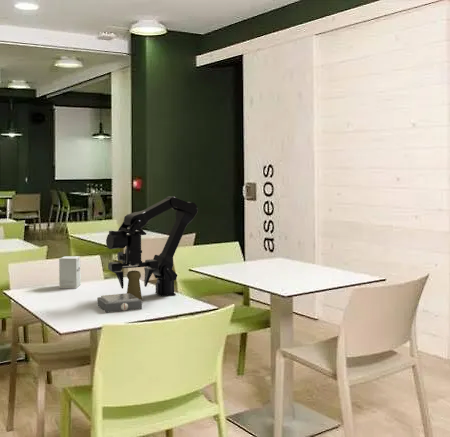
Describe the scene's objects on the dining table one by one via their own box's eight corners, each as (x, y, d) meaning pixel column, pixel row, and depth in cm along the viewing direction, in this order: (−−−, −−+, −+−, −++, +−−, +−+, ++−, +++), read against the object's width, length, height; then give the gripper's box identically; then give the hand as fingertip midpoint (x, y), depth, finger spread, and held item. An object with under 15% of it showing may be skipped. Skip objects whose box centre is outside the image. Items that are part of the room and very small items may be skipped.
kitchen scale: (131, 302, 232) (131, 292, 231) (142, 309, 220) (142, 298, 220) (97, 305, 226) (97, 295, 225) (106, 313, 215) (106, 302, 214)
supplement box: (76, 288, 256) (76, 258, 255) (59, 288, 256) (58, 258, 255) (81, 285, 264) (80, 255, 263) (63, 285, 264) (63, 255, 263)
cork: (138, 301, 234) (138, 272, 233) (123, 300, 235) (123, 271, 234) (144, 297, 239) (143, 269, 238) (129, 297, 241) (129, 269, 240)
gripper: (149, 243, 247) (150, 282, 248) (104, 245, 238) (104, 285, 240) (159, 246, 237) (159, 287, 238) (112, 249, 228) (112, 291, 230)
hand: (133, 287), depth 237 cm, fingers open, 9 cm apart
